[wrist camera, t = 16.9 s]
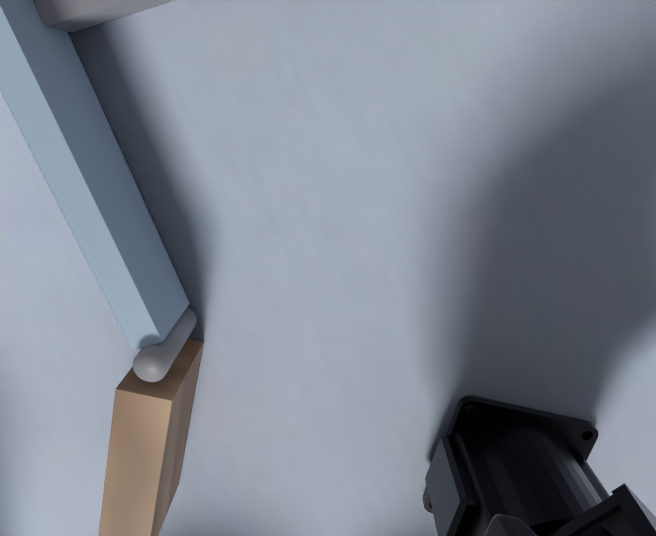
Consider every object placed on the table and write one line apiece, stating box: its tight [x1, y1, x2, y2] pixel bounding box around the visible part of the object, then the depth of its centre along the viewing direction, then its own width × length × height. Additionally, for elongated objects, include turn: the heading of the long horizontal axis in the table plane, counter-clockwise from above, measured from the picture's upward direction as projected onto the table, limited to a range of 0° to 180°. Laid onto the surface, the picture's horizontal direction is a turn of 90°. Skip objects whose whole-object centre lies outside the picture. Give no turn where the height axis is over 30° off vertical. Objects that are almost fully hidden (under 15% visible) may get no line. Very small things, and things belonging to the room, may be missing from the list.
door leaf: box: [0, 0, 197, 382], centre depth 17 cm, size 1×19×4 cm, turn 18°
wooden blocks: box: [99, 339, 204, 536], centre depth 17 cm, size 2×31×6 cm, turn 166°
